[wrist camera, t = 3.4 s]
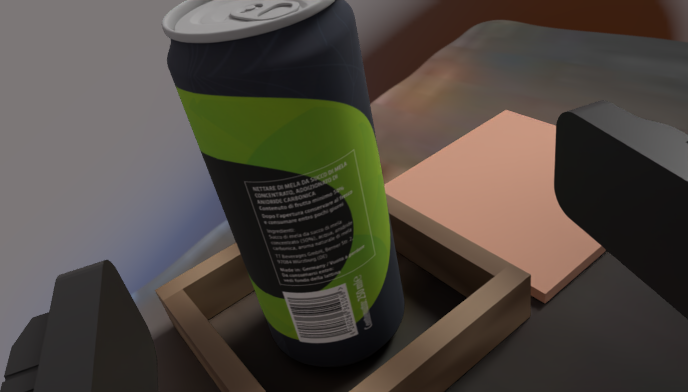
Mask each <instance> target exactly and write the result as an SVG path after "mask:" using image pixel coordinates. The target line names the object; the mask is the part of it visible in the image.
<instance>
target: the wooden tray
mask: <svg viewBox="0 0 688 392" xmlns="http://www.w3.org/2000/svg"><path fill="white" fill-rule="evenodd" d="M386 199H387V204H388V210H389V216H390V221H391V227H392V233H393V238H394V244H395V250H396V251H397V252H399V253H400V254H402V255H403V256H405V257H406V258H408V259H409V260H411V261H412V262H414V263H415V264H417V265H418V266H420V267H421V268H423V269H424V270H426V271H427V272H429V273H430V274H432V275H433V276H435V277H437V278H438V279H440V280H441V281H443V282H444V283H446V284H447V285H449V286H450V287H452V288H453V289H455V290H456V291H458V292H459V293H461V294H462V295H464V296H465V297H467V299H466V300H464V301H463V302H462V303H461V304H459V305H458V306H457V307H455V308H454V309H453V310H452V311H450V312H449V313H448V314H447V315H445V316H444V317H443V318H442V319H440V320H439V321H438V322H437V323H435V324H434V325H433V326H431V327H430V328H429V329H428V330H426V331H425V332H424V333H423V334H421V335H420V336H419V337H418V338H416V339H415V340H414V341H413V342H411V343H410V344H409V345H407V346H406V347H405V348H404V349H402V350H401V351H400V352H399V353H397V354H396V355H395V356H394V357H392V358H391V359H390V360H389V361H387V362H386V363H385V364H384V365H382V366H381V367H380V368H378V369H377V370H376V371H375V372H373V373H372V374H371V375H370V376H368V377H367V378H366V379H365V380H363V381H362V382H361V383H360V384H358V385H357V386H356V387H354V388H353V389H352V390H351V391H349V392H444V391H445V390H446V389H447V388H449V387H450V386H451V385H452V384H453V383H454V382H456V381H457V380H458V379H459V378H460V377H461V376H462V375H464V374H465V373H466V372H467V371H468V370H469V369H470V368H472V367H473V366H474V365H475V364H476V363H477V362H479V361H480V360H481V359H482V358H483V357H484V356H485V355H487V354H488V353H489V352H490V351H491V350H492V349H493V348H495V347H496V346H497V345H498V344H499V343H500V342H502V341H503V340H504V339H505V338H506V337H507V336H508V335H510V334H511V333H512V332H513V331H514V330H515V329H516V328H518V327H519V326H520V325H521V324H522V323H523V322H525V321H526V320H527V319H528V318H529V317H530V316H531V274H529V273H527V272H525V271H523V270H522V269H520V268H518V267H516V266H514V265H513V264H511V263H509V262H507V261H506V260H504V259H502V258H500V257H498V256H497V255H495V254H493V253H491V252H489V251H488V250H486V249H484V248H482V247H481V246H479V245H477V244H475V243H473V242H472V241H470V240H468V239H466V238H464V237H463V236H461V235H459V234H457V233H456V232H454V231H452V230H450V229H448V228H447V227H445V226H443V225H441V224H440V223H438V222H436V221H434V220H432V219H431V218H429V217H427V216H425V215H423V214H422V213H420V212H418V211H416V210H415V209H413V208H411V207H409V206H407V205H406V204H404V203H402V202H400V201H398V200H397V199H395V198H393V197H391V196H390V195H388V194H386ZM155 291H156V293H157V295H158V297H159V299H160V301H161V303H162V304H163V306H164V308H165V310H166V312H167V314H168V316H169V318H170V320H171V321H172V323H173V325H174V327H175V328H176V329H177V331H178V332H179V334H180V335H181V336H182V338H183V339H184V341H185V342H186V343H187V345H188V346H189V348H190V349H191V350H192V352H193V353H194V354H195V356H196V357H197V359H198V360H199V361H200V363H201V364H202V366H203V367H204V368H205V370H206V371H207V372H208V374H209V375H210V377H211V378H212V379H213V381H214V382H215V384H216V385H217V386H218V388H219V389H220V390H221V392H266V391H265V390H264V389H263V388H262V386H261V385H260V384H259V383H258V382H257V380H256V379H255V378H254V377H253V375H252V374H251V373H250V372H249V370H248V369H247V368H246V367H245V366H244V364H243V363H242V362H241V361H240V359H239V358H238V357H237V356H236V354H235V353H234V352H233V351H232V350H231V348H230V347H229V346H228V345H227V343H226V342H225V341H224V340H223V338H222V337H221V336H220V335H219V334H218V332H217V331H216V330H215V329H214V327H213V326H212V325H211V324H210V322H209V321H208V320H209V319H210V318H212V317H213V316H215V315H216V314H218V313H220V312H221V311H223V310H224V309H226V308H227V307H229V306H231V305H232V304H234V303H235V302H237V301H238V300H240V299H241V298H243V297H245V296H246V295H248V294H249V293H251V292H252V291H254V287H253V285H252V282H251V280H250V277H249V274H248V272H247V269H246V267H245V264H244V261H243V259H242V256H241V254H240V251H239V249H238V246H237V243H234V244H233V245H231V246H229V247H228V248H226V249H224V250H222V251H221V252H219V253H217V254H216V255H214V256H212V257H211V258H209V259H207V260H205V261H204V262H202V263H200V264H199V265H197V266H195V267H194V268H192V269H190V270H188V271H187V272H185V273H183V274H182V275H180V276H178V277H176V278H175V279H173V280H171V281H170V282H168V283H166V284H165V285H163V286H161V287H159V288H158V289H156V290H155Z"/></svg>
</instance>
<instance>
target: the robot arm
mask: <svg viewBox="0 0 688 392" xmlns="http://www.w3.org/2000/svg"><path fill="white" fill-rule="evenodd" d="M554 191H555V195H556V199H557V201H558V204H559V206H560V207H561V209H562V211H563V212H564V213H565V215H566V216H567V217H568V218H569V219H571V220H572V221H573V222H574V223H575V224H577V225H578V226H579V227H580V228H581V229H582V230H584V231H585V232H586V233H587V234H588V235H589V236H591V237H592V238H593V239H594V240H595V241H596V242H598V243H599V244H600V245H601V246H602V247H604V248H605V249H606V250H607V251H608V252H609V253H611V254H612V255H613V256H614V257H615V258H616V259H618V260H619V261H620V262H621V263H622V264H624V265H625V266H626V267H627V268H628V269H629V270H631V271H632V272H633V273H634V274H635V275H636V276H638V277H639V278H640V279H641V280H642V281H643V282H645V283H646V284H647V285H648V286H649V287H651V288H652V289H653V290H654V291H655V292H656V293H658V294H659V295H660V296H661V297H662V298H663V299H665V300H666V301H667V302H668V303H669V304H670V305H672V306H673V307H674V308H675V309H676V310H678V311H679V312H680V313H681V314H682V315H683V316H685V317H686V318H687V319H688V134H686V133H684V132H682V131H680V130H678V129H676V128H674V127H672V126H670V125H666V124H662V123H658V122H654V121H650V120H647V119H643V118H639V117H637V116H635V115H633V114H631V113H630V112H628V111H626V110H624V109H622V108H620V107H618V106H616V105H614V104H613V103H611V102H608V101H604V100H602V101H598V102H595V103H592V104H589V105H585V106H582V107H579V108H576V109H573V110H570V111H567V112H564V113H562V114H561V115H560V116H559V118H558V120H557V124H556V142H555V169H554ZM4 377H5V382H3V383H2V386H1V390H0V392H158V377H157V357H156V351H155V347H154V343H153V340H152V337H151V334H150V331H149V329H148V327H147V325H146V323H145V321H144V319H143V317H142V315H141V314H140V312H139V310H138V308H137V306H136V304H135V302H134V301H133V299H132V297H131V295H130V293H129V291H128V290H127V288H126V286H125V284H124V282H123V280H122V279H121V277H120V275H119V273H118V271H117V270H116V268H115V266H114V265H113V264H112V263H111V262H110V261H109V260H104V261H101V262H98V263H95V264H92V265H89V266H86V267H83V268H80V269H77V270H73V271H70V272H67V273H65V274H61V275H59V276H58V277H57V279H56V282H55V287H54V291H53V296H52V301H51V306H50V311H49V313H45V314H43V315H39V316H37V317H33V318H32V319H31V320H30V322H29V323H28V325H27V326H26V328H25V329H24V331H23V332H22V333H21V335H20V336H19V338H18V339H17V340H16V342H15V343H14V345H13V346H12V348H11V352H10V356H9V359H8V363H7V367H6V371H5V375H4Z"/></svg>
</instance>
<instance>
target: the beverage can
mask: <svg viewBox="0 0 688 392" xmlns="http://www.w3.org/2000/svg"><path fill="white" fill-rule="evenodd" d="M162 27H163V30H164V33H165V34H166V35H167V36H168V37H169V38H171V45H170V49H169V52H168V57H167V64H168V68H169V70H170V73H171V75H172V78H173V81H174V83H175V86H176V88H177V91H178V93H179V96H180V99H181V101H182V104H183V106H184V109H185V112H186V114H187V117H188V119H189V122H190V124H191V127H192V130H193V132H194V135H195V138H196V140H197V143H198V145H199V148H200V150H201V153H202V156H203V158H204V161H205V163H206V166H207V169H208V171H209V174H210V176H211V179H212V181H213V184H214V187H215V189H216V192H217V194H218V197H219V200H220V202H221V205H222V207H223V210H224V212H225V215H226V218H227V220H228V223H229V225H230V228H231V230H232V233H233V236H234V238H235V241H236V243H237V246H238V249H239V251H240V254H241V256H242V259H243V261H244V264H245V267H246V269H247V272H248V274H249V277H250V280H251V282H252V285H253V287H254V290H255V292H256V295H257V298H258V300H259V303H260V305H261V308H262V311H263V313H264V316H265V318H266V321H267V323H268V326H269V329H270V331H271V334H272V336H273V339H274V340H275V342H276V344H277V345H278V347H279V348H280V349H281V350H282V351H283V352H284V353H285V354H287V355H288V356H289V357H291V358H293V359H295V360H297V361H299V362H302V363H305V364H308V365H313V366H321V367H342V366H347V365H351V364H354V363H357V362H359V361H362V360H364V359H366V358H368V357H369V356H371V355H372V354H374V353H375V352H376V351H378V350H379V349H380V348H381V347H382V346H384V345H385V344H386V343H387V342H388V341H389V340H390V339H391V337H392V336H393V335H394V334H395V332H396V331H397V329H398V327H399V325H400V323H401V320H402V317H403V313H404V296H403V290H402V284H401V278H400V273H399V267H398V261H397V256H396V250H395V244H394V238H393V233H392V227H391V221H390V216H389V210H388V204H387V199H386V193H385V187H384V181H383V176H382V170H381V164H380V159H379V153H378V147H377V141H376V136H375V130H374V124H373V119H372V113H371V107H370V102H369V96H368V90H367V84H366V79H365V73H364V67H363V62H362V56H361V50H360V45H359V39H358V33H357V27H356V22H355V17H354V13H353V10H352V8H351V7H350V5H349V4H348V3H347V2H346V1H344V0H186V1H185V2H183V3H181V4H179V5H178V6H176V7H175V8H174V9H172V10H171V11H170V12H169V13H167V15H166V16H165V17H164V19H163V21H162Z"/></svg>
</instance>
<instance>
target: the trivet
mask: <svg viewBox="0 0 688 392" xmlns="http://www.w3.org/2000/svg"><path fill="white" fill-rule="evenodd" d="M555 142H556V126H554V125H551V124H548V123H545V122H542V121H539V120H536V119H533V118H530V117H527V116H523V115H520V114H517V113H514V112H511V111H508V110H505V111H503V112H502V113H500V114H498V115H497V116H495V117H494V118H492V119H490V120H489V121H487V122H486V123H484V124H482V125H481V126H479V127H477V128H476V129H474V130H473V131H471V132H469V133H468V134H466V135H464V136H463V137H461V138H460V139H458V140H456V141H455V142H453V143H451V144H450V145H448V146H447V147H445V148H443V149H442V150H440V151H439V152H437V153H435V154H434V155H432V156H430V157H429V158H427V159H426V160H424V161H422V162H421V163H419V164H417V165H416V166H414V167H413V168H411V169H409V170H408V171H406V172H404V173H403V174H401V175H400V176H398V177H396V178H395V179H393V180H392V181H390V182H388V183H387V184H385V185H384V187H385V193H386V194H388V195H390V196H391V197H393V198H395V199H397V200H398V201H400V202H402V203H404V204H406V205H407V206H409V207H411V208H413V209H415V210H416V211H418V212H420V213H422V214H423V215H425V216H427V217H429V218H431V219H432V220H434V221H436V222H438V223H440V224H441V225H443V226H445V227H447V228H448V229H450V230H452V231H454V232H456V233H457V234H459V235H461V236H463V237H464V238H466V239H468V240H470V241H472V242H473V243H475V244H477V245H479V246H481V247H482V248H484V249H486V250H488V251H489V252H491V253H493V254H495V255H497V256H498V257H500V258H502V259H504V260H506V261H507V262H509V263H511V264H513V265H514V266H516V267H518V268H520V269H522V270H523V271H525V272H527V273H529V274H531V296H533V297H535V298H536V299H538V300H540V301H541V302H543V303H546V302H548V301H549V300H550V299H551V298H552V297H553V296H554V295H556V294H557V293H558V292H559V291H560V290H561V289H562V288H564V287H565V286H566V285H567V284H568V283H569V282H571V281H572V280H573V279H574V278H575V277H576V276H577V275H579V274H580V273H581V272H582V271H583V270H584V269H585V268H587V267H588V266H589V265H590V264H591V263H592V262H594V261H595V260H596V259H597V258H598V257H599V256H600V255H602V254H603V253H604V252H605V251H606V249H605V248H604V247H602V246H601V245H600V244H599V243H598V242H596V241H595V240H594V239H593V238H592V237H591V236H589V235H588V234H587V233H586V232H585V231H584V230H582V229H581V228H580V227H579V226H578V225H577V224H575V223H574V222H573V221H572V220H571V219H569V218H568V217H567V216H566V215H565V213H564V212H563V211H562V209H561V207H560V206H559V204H558V201H557V199H556V195H555V191H554V169H555Z"/></svg>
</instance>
